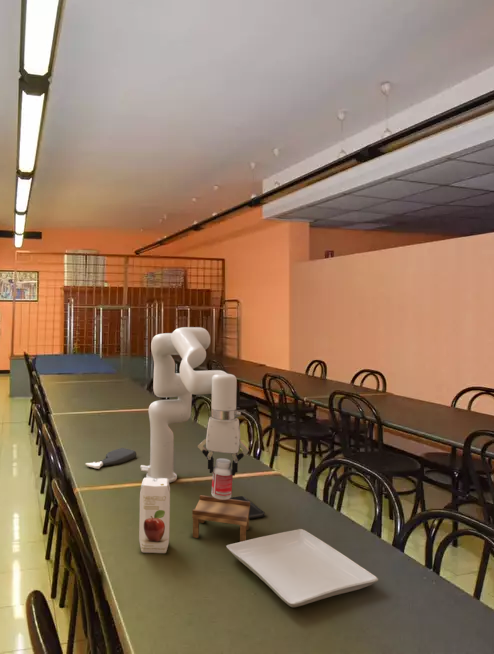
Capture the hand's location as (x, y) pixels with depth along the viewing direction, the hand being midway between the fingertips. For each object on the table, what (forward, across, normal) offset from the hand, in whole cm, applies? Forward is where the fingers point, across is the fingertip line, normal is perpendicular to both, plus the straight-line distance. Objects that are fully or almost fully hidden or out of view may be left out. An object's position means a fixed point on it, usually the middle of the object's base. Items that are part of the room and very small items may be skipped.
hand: (222, 472), depth 138 cm
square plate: (+19, -22, +16) cm, 33 cm away
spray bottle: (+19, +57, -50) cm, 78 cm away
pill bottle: (+8, 0, -1) cm, 8 cm away
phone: (+19, -5, -19) cm, 27 cm away
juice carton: (+19, +17, +15) cm, 29 cm away
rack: (+19, 0, 0) cm, 19 cm away
